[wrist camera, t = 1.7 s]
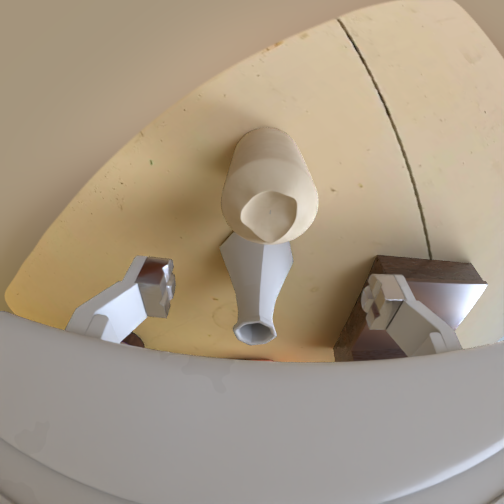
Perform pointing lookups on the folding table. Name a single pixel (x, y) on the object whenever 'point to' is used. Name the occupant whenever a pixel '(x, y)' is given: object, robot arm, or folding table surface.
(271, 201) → the candle
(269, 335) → the flask
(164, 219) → the folding table surface
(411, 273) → the wooden step stool
